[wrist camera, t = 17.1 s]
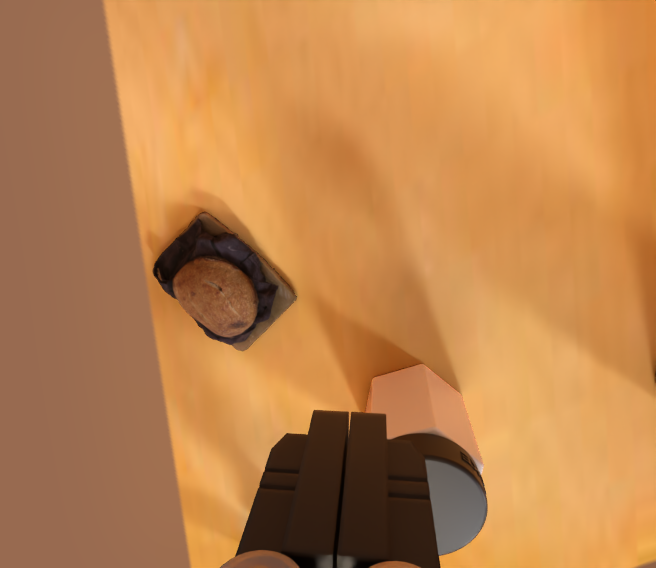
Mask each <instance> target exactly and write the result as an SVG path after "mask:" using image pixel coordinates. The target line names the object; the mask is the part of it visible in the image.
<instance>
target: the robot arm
mask: <svg viewBox="0 0 656 568" xmlns="http://www.w3.org/2000/svg"><path fill="white" fill-rule="evenodd" d="M220 568H440V561H439V554H438V547H437V540H436V533H435V526H434V518H433V511H432V504H431V500H430V490H429V483H428V476H427V469H426V462H425V457H424V456H423V455H422V453H421V452H420V451H419V449H418V448H417V447H416V445H415V444H414V443H413V441H411V440H394V439H387V425H386V414H382V413H363V412H351V420H350V430H349V412H342V411H323V410H314V411H313V415H312V419H311V423H310V428H309V432H308V435H306V434H289V433H287V434H286V435H285V436H284V437H283V438H282V439H281V440H280V441H279V442H278V443H277V444H276V445H275V446H274V447H273V448H272V449H271V452H270V455H269V458H268V461H267V464H266V467H265V472H264V473H263V476H262V479H261V481H260V487H259V488H258V490H257V493H256V496H255V499H254V502H253V505H252V508H251V511H250V514H249V517H248V520H247V523H246V526H245V529H244V532H243V535H242V538H241V541H240V544H239V547H238V550H237V553H236V555H235V557H234V558H232V559H230V560H229V561H228V562H226V563H225V564H223V565H222V566H221V567H220Z"/></svg>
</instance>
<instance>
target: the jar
mask: <svg viewBox="0 0 656 568" xmlns="http://www.w3.org/2000/svg"><path fill="white" fill-rule="evenodd" d="M365 413H382V414H386V425H387V439H394V440H411V441H413V443H414V444H415V445H416V447H417V448H418V449H419V451H420V452H421V453H422V455H423V456H424V457H425V462H426V469H427V476H428V483H429V490H430V500H431V504H432V511H433V518H434V526H435V533H436V540H437V547H438V554H439V556H441V555H445V554H449V553H452V552H454V551H457V550H459V549H461V548H462V547H464V546H466V545H467V544H468V543H470V542H471V541H472V540H473V539H474V538H475V537H476V536H477V535H478V533H479V532H480V530H481V529H482V527H483V525H484V523H485V520H486V516H487V498H486V491H485V488H484V483H483V479H482V477H481V474H482V470H483V467H484V464H483V461H482V458H481V455H480V451H479V448H478V445H477V442H476V439H475V436H474V432H473V429H472V426H471V423H470V420H469V416H468V413H467V410H466V407H465V404H464V401H463V397H462V395H461V394H460V393H459V392H458V391H456V390H455V389H454V388H453V387H451V386H450V385H449V384H448V383H446V382H445V381H444V380H443V379H441V378H440V377H439V376H438V375H437V374H435V373H434V372H433V371H432V370H430V369H429V368H428V367H427V366H425V365H424V364H419V365H416V366H412V367H409V368H405V369H402V370H398V371H395V372H391V373H388V374H384V375H381V376H377V377H374V378H373V379H372V382H371V387H370V391H369V396H368V401H367V405H366V410H365Z"/></svg>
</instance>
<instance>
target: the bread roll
mask: <svg viewBox="0 0 656 568" xmlns="http://www.w3.org/2000/svg"><path fill="white" fill-rule="evenodd" d="M153 274H154V276H155V277H156V279H157V280H158V282H159V283H160V285H161V286H162V288H163V289H164V290H165V291H166V292H167V293H168V294H169V295H171V296H172V297H173V298H175V299H177V300H178V302H179V303H180V305H181V306H182V307H183V308H184V310H185V311H186V312H187V313H188V314H189V315H190V316H192V317H193V318H194V319H195V321H196V322H197V324H198V326H199V327H201V328H202V329H203V330H204V332H205V334H206V335H207V336H208V337H209V338H212V339H214V340H218V341H220V342H224V343H226V344H229V345H232V346H233V347H234V348H235V349H237V350H240V351H244V350H246V349H248V348H249V347H250V345H251V344H252V343H253V342H254V341H255V340H256V339H257V338H258V337H259V336H260V335H261V334H262V333H264V332H265V331H266V330H267V328H268V327H269V326H270V325H271V324H272V323H273V322H274V321H275V320H276V319H277V318H278V317H279V316H280V315H281V314H282V313H283V312H284V311H285V310H286V309H288V307H289V306H290V305H291V304H292V303H293V302H294V301H296V297H297V296H296V295H295V293H294V292H293V290H291V288H290V286H289V285H288V284H287V283H286V282H285V281H284V280H283V279H282V278H281V277H280V276H279V275H278V273H277V272H275V271H274V269H272V267H271V266H269V265H268V263H267V262H266V260H264V259H262V258H261V256H259V255H258V253H257V252H255V251H254V250H253V249H252V248H251V247H250V246H249V245H247V244H245V243H244V241H242V240H241V239H239V238H238V234H236V233H233V232H231V231H230V230H229V229H228V228H227V227H225V226H224V225H223V224H221V223H220V222H219V221H218V220H217V219H216V218H214V217H212V216H211V215H210V214H208V213H207V212H202V213H200V214H199V215H198V216H196V217H195V220H194V221H192V223H190V225H189V226H188V228H187V229H186V230H185V231H183V232H182V233H181V234H180V235H179V237H178V238H176V239H175V241H174V242H173V243H172V244H171V245H170V246H169V247H168V248H167V249H166V250H165V251H164V252H163V253H162V254H161V255H160V257H159V258H158V260H157V261H156V263H155V265H154V268H153Z"/></svg>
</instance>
